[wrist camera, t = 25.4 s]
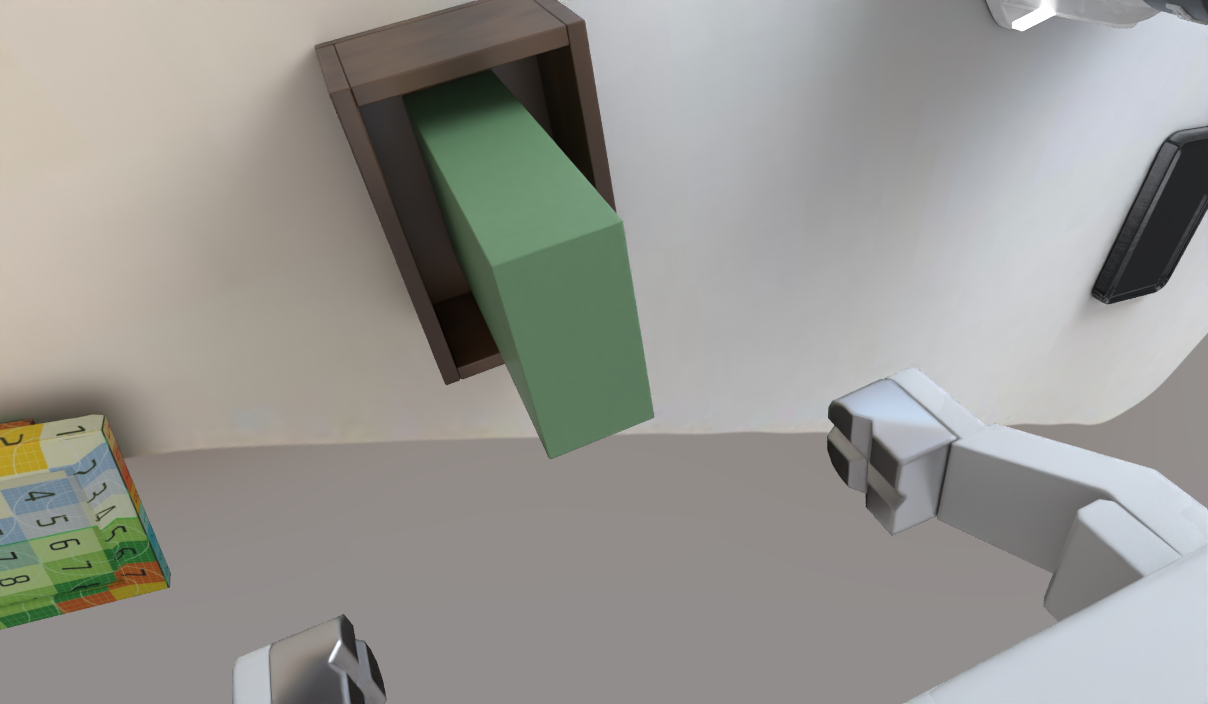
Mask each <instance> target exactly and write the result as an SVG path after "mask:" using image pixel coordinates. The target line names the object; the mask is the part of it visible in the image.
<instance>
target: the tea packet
mask: <svg viewBox="0 0 1208 704" xmlns="http://www.w3.org/2000/svg"><path fill="white" fill-rule="evenodd" d="M402 100H403V103H404V106H405V109H406V112H407V115H408V118H409V120H410V123H411V126H412V129H413V132H414V135H415V138H416V141H417V144H418V147H419V150H420V153H421V156H422V159H423V162H424V165H425V168H426V171H427V174H428V177H429V179H430V182H431V185H432V188H433V191H434V194H435V197H436V200H437V203H438V206H439V209H440V212H441V215H442V218H443V221H444V224H445V227H446V230H447V233H448V235H449V238H450V241H451V244H452V247H453V250H454V253H455V256H456V259H457V261H458V263H459V265H460V268H461V270H462V272H463V274H464V276H465V278H466V280H467V283H468V285H469V287H470V289H471V291H472V293H473V296H474V298H475V300H476V302H477V304H478V306H479V308H480V311H481V313H482V315H483V317H484V319H485V321H486V324H487V326H488V328H489V330H490V332H491V334H492V336H493V339H494V341H495V343H496V345H497V347H498V349H499V352H500V354H501V356H502V358H503V360H504V362H505V364H506V367H507V369H508V371H509V373H510V375H511V377H512V380H513V382H514V384H515V386H516V388H517V390H518V392H519V395H520V397H521V399H522V401H523V403H524V405H525V408H526V410H527V412H528V414H529V416H530V418H531V420H532V423H533V425H534V427H535V429H536V431H537V433H538V436H539V438H540V440H541V442H542V444H543V446H544V448H545V451H546V453H547V455H548V457H549V458H550V459H553V458H555V457H558V456H560V455H563V454H565V453H568V452H570V451H573V450H575V449H578V448H580V447H582V446H585V445H587V444H590V443H592V442H595V441H597V440H600V439H602V438H605V437H607V436H610V435H612V434H615V433H617V432H620V431H622V430H625V429H627V428H630V427H632V426H635V425H637V424H640V423H642V422H644V421H647V420H649V419H652V418H654V412H653V406H652V399H651V393H650V387H649V381H648V375H647V368H646V362H645V356H644V350H643V344H642V337H641V331H640V325H639V319H638V313H637V307H636V300H635V294H634V288H633V282H632V276H631V269H630V263H629V257H628V251H627V245H626V238H625V232H624V226H623V221H622V219H621V218H620V217H619V216H618V215H617V214H616V213H615V211H614V210H613V209H612V208H611V207H610V206H609V204H608V203H607V202H606V201H605V200H604V199H603V198H602V196H601V195H600V194H599V193H598V192H597V191H596V189H595V188H594V187H593V186H592V185H591V184H590V183H589V181H588V180H587V179H586V178H585V177H584V176H583V174H582V173H581V172H580V171H579V170H578V169H577V168H576V166H575V165H574V164H573V163H572V162H571V161H570V159H569V158H568V157H567V156H566V155H565V154H564V153H563V151H562V150H561V149H560V148H559V147H558V146H557V144H556V143H555V142H554V141H553V140H552V139H551V138H550V136H549V135H548V134H547V133H546V132H545V131H544V129H543V128H542V127H541V126H540V125H539V124H538V123H537V121H536V120H535V119H534V118H533V117H532V116H531V114H530V113H529V112H528V111H527V110H526V109H525V108H524V106H523V105H522V104H521V103H520V102H519V101H518V99H517V98H516V97H515V96H514V95H513V94H512V93H511V91H510V90H509V89H508V88H507V87H506V86H505V85H504V83H503V82H502V81H501V80H500V79H499V78H498V76H497V75H496V74H495V73H494V72H493V71H492V70H491V71H488V72H484V73H481V74H477V75H474V76H471V77H467V78H464V79H461V80H457V81H454V82H451V83H447V84H444V85H441V86H437V87H434V88H431V89H427V90H424V91H421V92H417V93H414V94H411V95H407V96H404V97H402Z"/></svg>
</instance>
